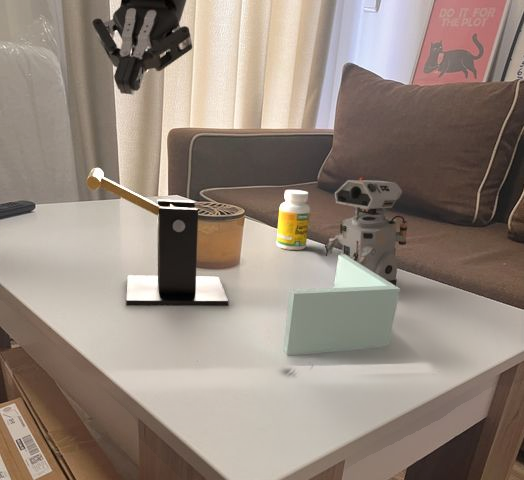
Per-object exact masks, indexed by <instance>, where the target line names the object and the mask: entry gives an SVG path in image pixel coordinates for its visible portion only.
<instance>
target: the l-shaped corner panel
mask: <svg viewBox="0 0 524 480" xmlns="http://www.w3.org/2000/svg"><path fill="white" fill-rule="evenodd" d="M336 268H337V269H336ZM336 268H335V276H334V283H333V287H326V288H325V287H324V288H323V287H322V288H302V289H301V288H300V289H290V290H289V295H288V304H287V311H286V319H285V327H284V337H283V345H282V352H283V353H284V355H286V356H297V355H298V356H299V355H308V354H318V353H319V354H320V353H329V352H341V351H350V350H351V351H352V350H361V349H372V348H385V347H389V342H390V338H391V334H392V330H393V324H394V320H395V315H396V310H397V305H398V301H399V296H400V292H401V288H400V287H398V286H397V285H396V286H395V285H393V284H392V283H390V282H388V281H387V280H385V279H384V278H382V277H380V276H379V275H377V274H375V273H374V272H372V271H371V270H369V269H367V268H366V267H364V266H362V265H361V264H359V263H358V262H356V261H354V260H353V259H351V258H349V257H348V256H346V255H341V254H338V257H337V263H336Z"/></svg>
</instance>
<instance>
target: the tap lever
mask: <svg viewBox="0 0 524 480" xmlns="http://www.w3.org/2000/svg"><path fill="white" fill-rule="evenodd" d="M85 183H86V184H85V185H86V186H87V188H88V189H89V190H92V191H97V190H98V189H100V188H101V189H103V190H105V191H108V192H109V193H112V194H114V195H115V196H117V197H120V198H121V199H124V200H125V201H127V202H129V203H131V204H133V205H136V206H137V207H140V208H142V209H143V210H145V211H148V212H150V213H151V214H154V215H156V216H157V217H158V216H159V207H162V206H160V205H158V203H155V201H154V202H153V200H150V199H148V198H146V197H144V196H142V195H140V194H138V193H136V192H134V191H132V190H130V189H128V188H126V187H124V186H123V185H120V184H118V183H116V182H115V181H113V180H111V179H108V178H106V177H104V171H103V170H102V169H101V168H99V167H93V168H92V169H91V171H90V173H89V174H88V176H87V179H86V181H85ZM169 207H176V206H174V205H172V204H170V205H169Z"/></svg>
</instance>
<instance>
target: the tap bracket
mask: <svg viewBox="0 0 524 480" xmlns="http://www.w3.org/2000/svg"><path fill="white" fill-rule="evenodd" d="M157 204H158V205H160V206H162V207H159V216H157V275H136V274H135V275H132V274H131V275H129V274H128V275H127V277H126V278H127V279H126V297H125V305H126V306H128V307H129V306H140V307H141V306H142V307H143V306H146V307H147V306H149V307H151V306H157V307H158V306H164V307H165V306H168V307H169V306H171V307H176V306H177V307H179V306H182V307H186V306H187V307H188V306H189V307H192V306H193V307H194V306H195V307H199V306H200V307H205V306H206V307H221V306H222V307H228V306H229V303H230V301H229V298H228V296H227V294H226V291H225V289H224V286H223V284H222V282H221V279H220V277H219V276H202V275H201V276H200V275H199V276H198V275H197V262H198V261H197V259H198V258H197V257H198V233H199V232H198V229H199V209H198V208H197V207H196V202H195V201H194V200H179V199H157ZM170 204H172V205H174V206H176V207H169V205H170Z"/></svg>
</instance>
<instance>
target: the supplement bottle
mask: <svg viewBox="0 0 524 480" xmlns="http://www.w3.org/2000/svg"><path fill="white" fill-rule="evenodd" d="M284 200H285V201H284V202H282V203H280V206H279V210H278V222H277V233H276V246H277V247H279V248H280V249H283V250H288V251H302V250H304V249H305V248H306V247H307V240H308V232H309V224H310V215H311V207H310V206H309V205H308V204H307V202H308V200H309V192H308V191H305V190H300V189H286V190H285V191H284Z"/></svg>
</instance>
